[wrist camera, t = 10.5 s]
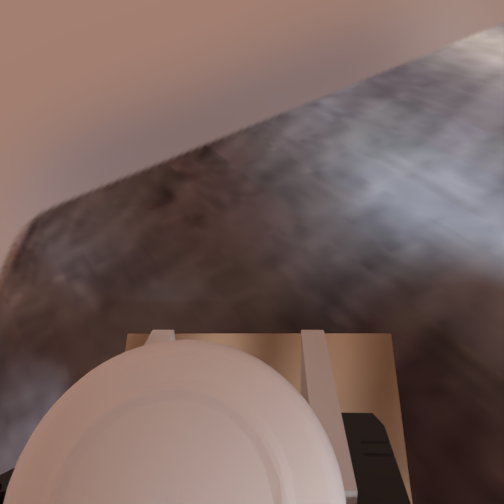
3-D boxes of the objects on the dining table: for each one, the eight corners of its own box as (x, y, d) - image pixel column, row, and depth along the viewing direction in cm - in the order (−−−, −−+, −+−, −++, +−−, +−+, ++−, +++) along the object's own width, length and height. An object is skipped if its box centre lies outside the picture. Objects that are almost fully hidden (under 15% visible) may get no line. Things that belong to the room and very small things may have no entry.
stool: (370, 359, 28) (391, 333, 23) (399, 639, 22) (436, 693, 17) (155, 358, 29) (127, 333, 24) (125, 628, 23) (78, 675, 18)
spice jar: (294, 419, 18) (324, 316, 6) (309, 550, 16) (395, 759, 4) (185, 429, 18) (11, 346, 6) (186, 561, 16) (-64, 797, 4)
